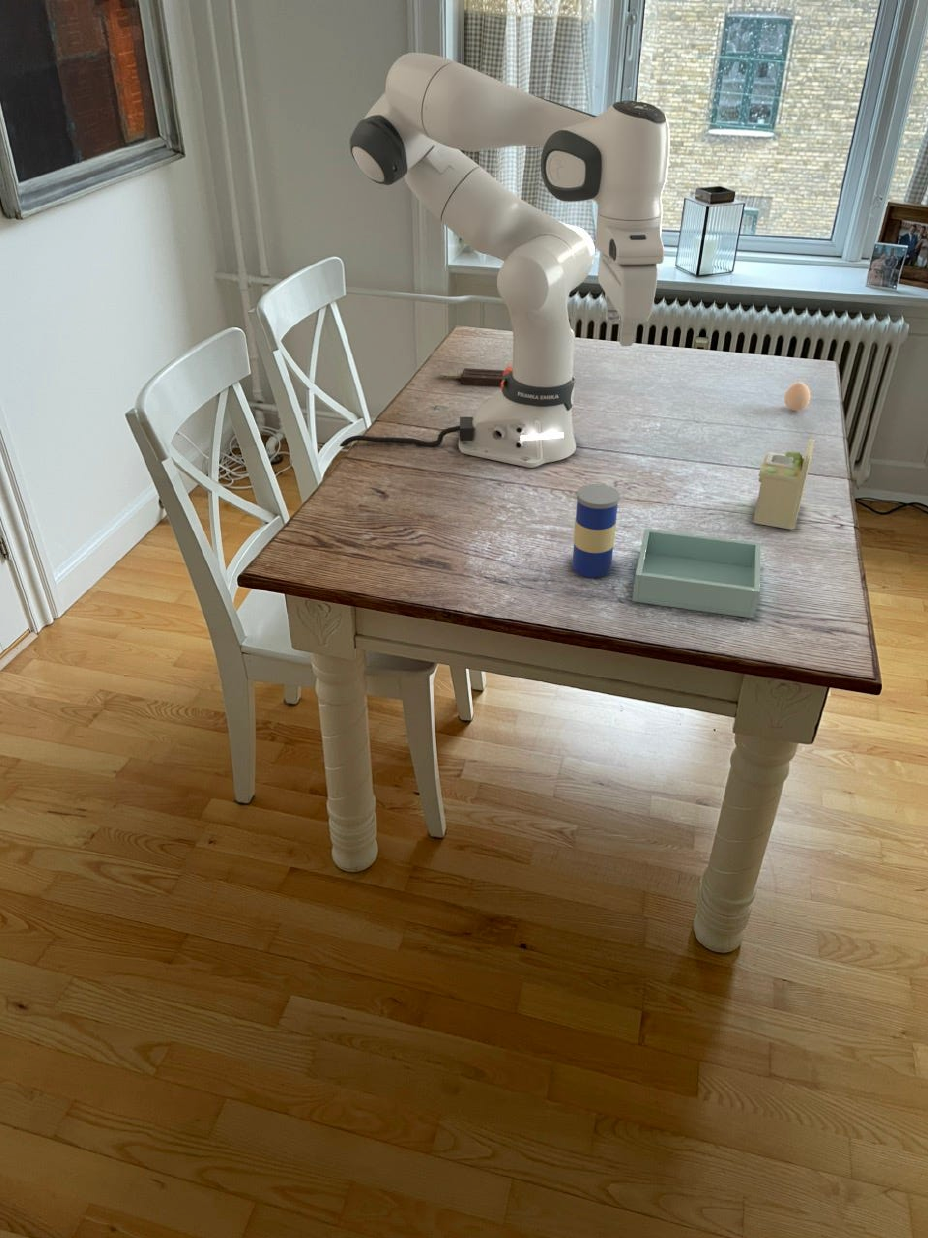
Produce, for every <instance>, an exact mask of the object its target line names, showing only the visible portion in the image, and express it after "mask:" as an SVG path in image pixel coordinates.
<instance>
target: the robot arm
mask: <svg viewBox="0 0 928 1238" xmlns="http://www.w3.org/2000/svg"><path fill="white" fill-rule="evenodd" d="M384 87H385V88H384V89H385V90H384V91H383V92H382V95H381V96H380V97H379V99H377V101H376V102H375V103H374V104H373V106H372V107H371V108H370V109H369V111H368V113H367V114H366V115H365V117H364V118H363V119H360V120H359V121H358V122H357V124H356V126H355V127H354V129H353V131H352V133H351V135H350V137H349V149H350V154H351V157H352V159H353V161H354V162H355V164H356V165H357V167H358V168H359V169H360V170H361V171H362V173H364V175H365V176H367V177H368V178H369V179H370V180H371V181H373V182H374V183H377V184H379V185H385V186H390V185H393V184H395V183H397V182H398V181H400V180H401V179H403V178H404V180H405V183H406V185H407V187H408V188H409V190H411V192H412V193H413V194H414V195H415V197H416V198H417V199H418V201H420V203H421V204H422V205H423V206H424V208H426V209H427V210H428V211H429V212H430V213H431V214H432V215H433V216H434V218H436V219H438V221H439V222H441V223H442V224H443V225H444V226H445V227H447V228H448V229H449V230H450V231H452V232H453V233H454V234H455V235H456V236H457V237H459V238H460V239H461V240H462V241H463V242H464V243H466V244H467V245H468V246H469V247H470V248H471V249H472V250H473V251H475V252H477V253H479V254H482V255H487V256H490V257H493V258H495V259H499V260H501V261H503V264H502V265H501V267H500V268H499V271H498V273H497V277H496V287H497V293H498V295H499V297H500V299H501V301H502V302H503V303H504V305H505V306H506V307H507V309H508V313H509V318H510V323H511V330H512V342H513V343H512V366H507V367H506V368H505V369H504V370H505V371H504V372H503V377H502V383H501V386H500V392H498V393H496V394H494V395H493V396H491V397H490V398H488V399H487V400H485V401H484V402H482V403H480V405H479V406H478V408H477V409H476V410H475V412H474V413H473V416H459V425H456V426H451V427H446V428H445V429H443V430H442V431H440V432H439V434H438V436H437V440H433V441H426V440H421V439H417V438H411V437H391V436H390V437H389V436H388V437H386V436H384V437H382V436H381V437H379V436H378V437H377V436H371V435H359V434H358V435H353V436H349V437H347V438H345V439H344V440H343V441H342V442H341V443H340V444H339V447H341V448H343V447H346V446H348V445H349V444H351V443H353V442H357V441H359V442H370V443H389V444H391V443H393V444H412V445H417V446H420V447H429V448H431V447H432V448H433V447H437V446H439V445H441V444H442V443H443V439H444V437H445V436H446V435H448V434H451V433H455V432H459V439H458V449H459V451H460V453H461V454H464V455H468V456H472V457H477V458H483V459H487V460H492V461H497V462H501V463H506V464H511V465H515V466H520V467H524V468H528V469H529V468H531V469H533V468H537V467H539V466H542V465H543V464H549V463H553V462H557V461H561V460H565V459H566V458H569V457H571V456H573V454H574V453H575V452H576V450H577V442H576V439H575V434H574V427H573V413H572V411H573V410H572V408H573V405H574V403H575V395H576V394H575V393H576V392H575V391H576V384H575V382H576V379H575V375H574V361H575V349H576V333H575V332H574V329H572V327H571V324H570V319H569V311H568V300H569V296H570V294H571V292H572V291H573V290H575V289H576V288H577V287H579V286H580V285H581V284H582V283H583V282H584V281H585V280H586V278H587V277H588V275H589V273H590V271H591V270H592V267H593V264H594V263H595V257H596V250H597V251H599V257H598V267H597V281H598V284H599V285H600V287H601V288H602V290H603V291H604V293H605V294H604V296H605V297H604V299H605V309H606V310H605V311H606V313H605V320H606V322H607V323H608V324H609V325H618V324H619V323H620V322H621V327H620V330H619V333H618V342H619V344H620V346H621V347H631V346H633V344H634V339H635V333H636V331H637V328H638V325H639V324H642V323H647V322H648V321H649V320H650V317H651V316H652V312H653V307H654V302H655V297H656V291H657V285H658V284H657V283H658V279H659V278H658V277H659V266H658V265H660V264H663V263H664V259H665V246H664V242H663V238H662V231H663V229H662V222H663V214H664V210H663V209H664V207H663V203H662V196H663V190H664V188H665V185H666V183H667V178H668V170H669V169H668V168H669V159H670V127H669V121H668V118H667V115H666V114H665V112H663V111H662V110H661V108H659V107H657V106H655V105H653V104H651V103H648V102H644V101H635V100H620V101H616V102H614V103H612V104H611V105H610V106H609V107H608V108H607V109H606V110H604V112H602V113H600V114H598V115H595V114H592V113H588V112H586V111H583V110H579V109H576V108H573V107H570V106H568V105H565V104H562V103H559V102H556V101H553V100H549V99H547V98H543V97H540V96H537V95H535V94H533V93H530V92H527V91H525V90H523V89H520V88H517V87H515V86H512V85H510V84H507V83H506V82H503V81H500V80H498V79H496V78H495V77H492V76H489V75H488V74H485V73H483V72H482V71H478V70H477V69H474V68H472V67H470V66H467V65H465V64H463V63H460V62H458V61H455V60H452V59H449V58H446V57H443V56H440V55H436V54H430V53H423V52H409V53H405V54H403V55H402V56H400V57H398V59H396V60H395V61H394V62H393V64H392V65H391V67H390V68H389V70H388V73H387V76H386V80H385V86H384ZM522 146H523V147H537V148H541V149H542V151H541V155H540V173H541V178H542V182H543V184H544V186H545V188H546V189H547V191H548V192H549V193H550V194H551V196H553V197H554V199H557V200H558V201H560V202H566V203H579V202H585V201H593V202H595V203H596V204H597V215H596V228H595V229H596V230H595V242H593V240H592V238H591V236H590V235H589V234H588V233H587V231H585V229H583V228H581V227H579V226H576V225H572V224H568V223H565V222H563V221H560V220H559V219H557V218H555V217H553V216H552V215H550V214H548V213H547V212H546V211H545V212H544V211H543V210H541V209H539V208H537V207H536V206H534V205H532V204H530V203H528V202H526V201H525V200H523V199H521V198H519V196H517V195H516V194H514V193H513V192H512V191H511V190H509V189H508V188H507V187H505V186H504V185H503V184H502V183H501V182H500V181H498V180H497V179H496V178H495V177H494V176H493V175H491V174H490V173H489V172H487V170H485V169H484V168H483V167H482V166H480V165H479V164H478V163H477V162H475V161H474V160H473V159H471V158H470V157H469V156H468V155H466V154H465V153H463V152H462V151H465V152H483V151H488V150H489V151H491V150H497V149H502V148H503V149H504V148H510V147H511V148H512V147H522ZM620 318H621V321H620Z"/></svg>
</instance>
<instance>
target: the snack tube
mask: <svg viewBox="0 0 928 1238" xmlns="http://www.w3.org/2000/svg"><path fill="white" fill-rule="evenodd" d="M620 496H621V494H620V492H619V490H617V489H616V488H615V487H613V486H611V485H608V484H603V483H590V484H589V483H588V484H585V485H583V486H581V487H580V488H578V489H577V491H576V500H577V502H576V511H575V512H576V514H575V521H574V534H573V535H574V536H573V552H572V564H571V568H572V570H573V571H574V573H576V574H577V575H579V576H581V577H584V578H591V579H592V578H593V579H597V578H602V577H605V576H607V575H608V574H609V573H610V572H611V571H612V563H613V562H612V561H613V551H614V546H615V538H616V537H615V535H616V526H617V514H618V505H619V503H620V498H621V497H620Z"/></svg>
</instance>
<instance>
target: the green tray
mask: <svg viewBox="0 0 928 1238" xmlns="http://www.w3.org/2000/svg"><path fill="white" fill-rule="evenodd" d="M761 545H762V544H761V542H754V541H746V540H740V539H739V540H738V539H731V538H724V537H723V538H722V537H715V536H707V535H700V534H699V535H698V534H692V533H683V532H676V531H675V532H674V531H669V530H662V529H661V530H660V529H652V528H644V531H643V537H642V541H641V546H640V551H639V555H638V560H637V565H636V571H635V575H634V583H633V591H632V602H635V603H641V604H648V605H656V606H662V607H669V608H675V609H683V610H689V611H690V610H691V611H697V612H705V613H712V614H719V615H725V616H731V617H732V616H733V617H739V618H745V619H755V615H756V611H757V607H758V603H759V599H760V593H761V553H762V552H761V548H762V546H761Z"/></svg>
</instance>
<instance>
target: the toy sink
mask: <svg viewBox="0 0 928 1238" xmlns="http://www.w3.org/2000/svg"><path fill="white" fill-rule="evenodd" d="M815 441H816V440H815V439H809V440H808V444H807V448H806V451H805V455H804V456H803V455H802V454H801V453H800V452H798V451H792V450H787V451H786V452H785V454H784V453H779V452H778V453H777V452H772V451H767V452H766V453H765V455H764V458H763V461H762V463H761V466H760V468H759V472H758V476H759V478H758V483H760V485H759V490H758V496H757V501H756V505H755V510H754V516H753V524H757V525H763V526H767V527H773V528H774V527H775V528H778V529H779V528H780V529H785V530H789V531H793V530H795V528H796V524H797V519H798V516H799V512H800V508H801V503H802V500H803V496H804V491H805V486H806V482H807V477H808V473H809V469H810V464H811V460H812V455H813V452H814V447H815Z"/></svg>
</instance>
